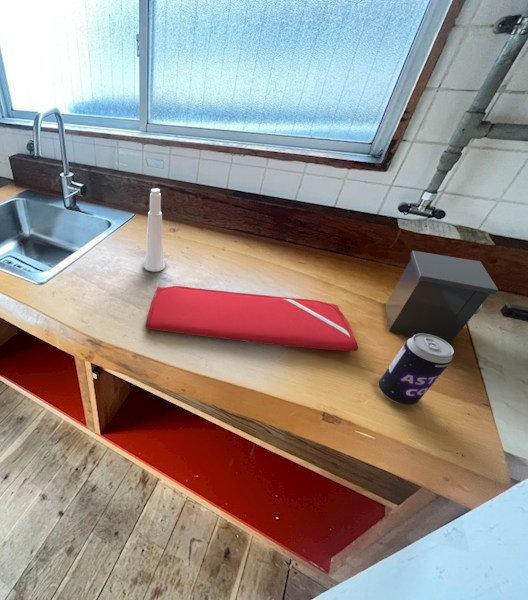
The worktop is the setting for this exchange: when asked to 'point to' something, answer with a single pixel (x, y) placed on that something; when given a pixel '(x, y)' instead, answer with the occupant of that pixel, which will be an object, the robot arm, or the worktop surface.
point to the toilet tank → (437, 295)
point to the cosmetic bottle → (154, 234)
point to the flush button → (478, 309)
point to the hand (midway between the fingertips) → (504, 309)
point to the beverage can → (415, 368)
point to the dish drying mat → (251, 318)
